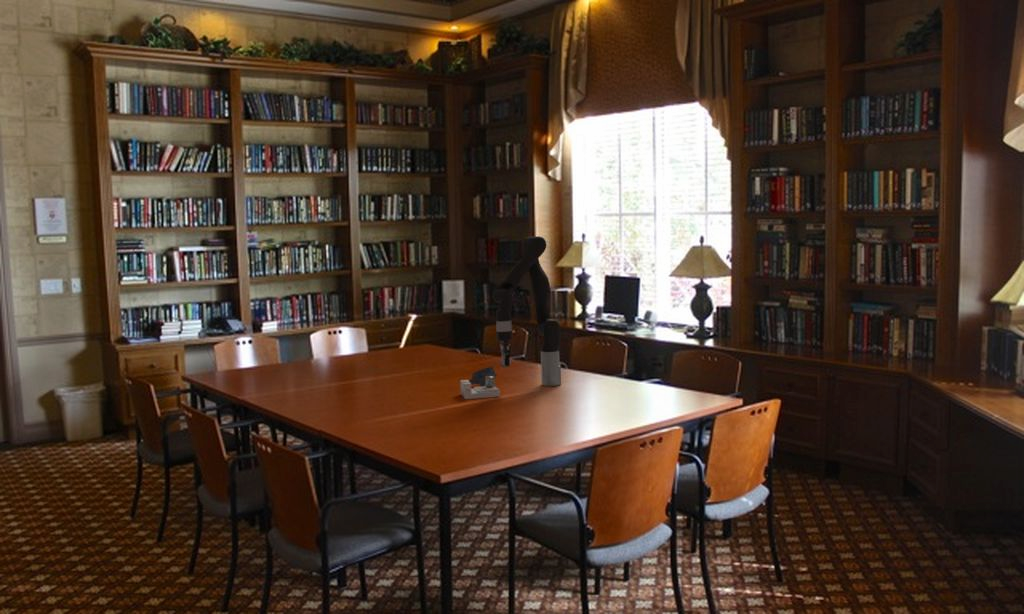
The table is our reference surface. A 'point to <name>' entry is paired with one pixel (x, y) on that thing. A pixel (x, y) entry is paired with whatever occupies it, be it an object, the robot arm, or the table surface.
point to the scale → (477, 391)
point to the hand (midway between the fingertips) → (506, 364)
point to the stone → (482, 375)
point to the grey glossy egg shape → (489, 381)
